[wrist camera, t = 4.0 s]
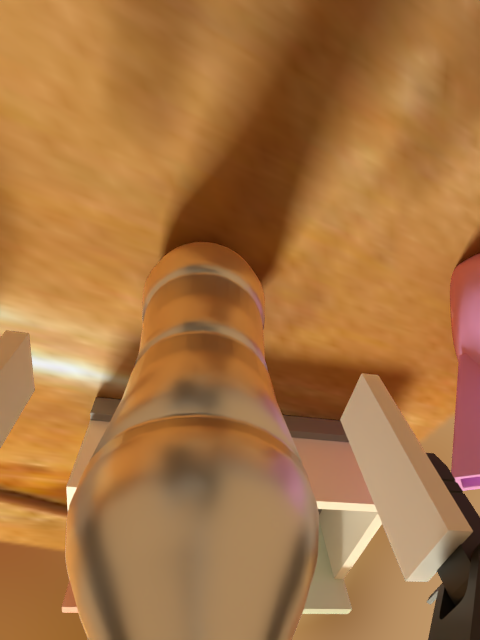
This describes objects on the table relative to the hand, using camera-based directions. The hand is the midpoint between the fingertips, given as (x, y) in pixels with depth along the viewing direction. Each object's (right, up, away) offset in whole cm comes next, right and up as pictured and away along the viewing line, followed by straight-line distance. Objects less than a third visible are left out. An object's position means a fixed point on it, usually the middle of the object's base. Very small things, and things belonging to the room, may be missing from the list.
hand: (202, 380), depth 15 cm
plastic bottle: (-1, +5, +7) cm, 9 cm away
